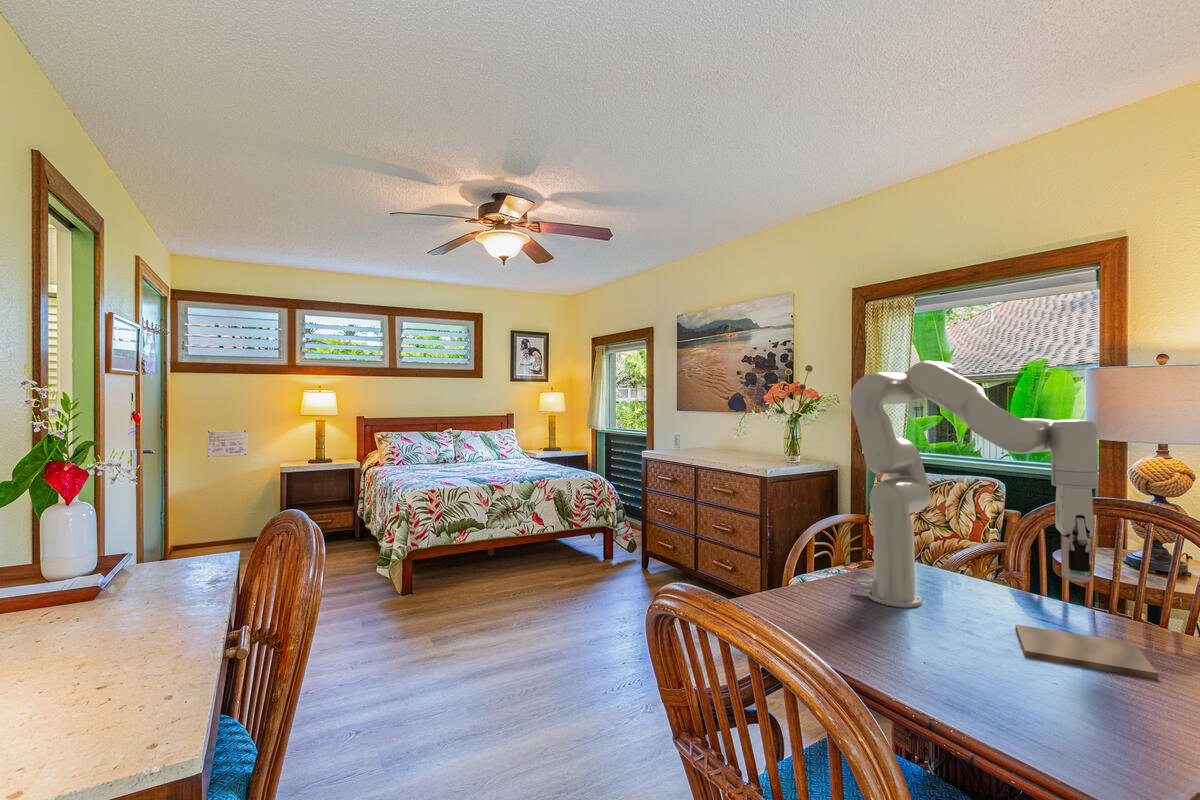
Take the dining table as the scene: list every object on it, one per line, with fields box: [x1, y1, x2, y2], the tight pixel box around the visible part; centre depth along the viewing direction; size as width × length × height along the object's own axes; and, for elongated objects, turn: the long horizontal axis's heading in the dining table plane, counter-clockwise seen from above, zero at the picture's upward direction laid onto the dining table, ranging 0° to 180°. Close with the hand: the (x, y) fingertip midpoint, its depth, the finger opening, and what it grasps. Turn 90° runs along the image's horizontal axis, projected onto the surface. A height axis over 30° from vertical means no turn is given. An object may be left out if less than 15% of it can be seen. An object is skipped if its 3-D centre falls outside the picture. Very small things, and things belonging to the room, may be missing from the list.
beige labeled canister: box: [1060, 529, 1093, 584], centre depth 119 cm, size 5×5×12 cm
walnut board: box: [1015, 624, 1159, 680], centre depth 119 cm, size 20×16×1 cm
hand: (1076, 566), depth 119 cm, fingers closed on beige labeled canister, 4 cm apart
